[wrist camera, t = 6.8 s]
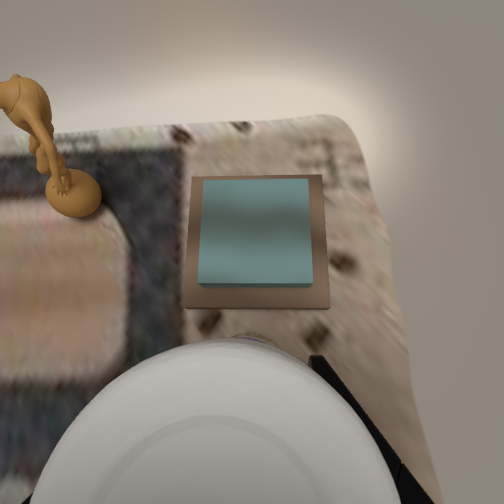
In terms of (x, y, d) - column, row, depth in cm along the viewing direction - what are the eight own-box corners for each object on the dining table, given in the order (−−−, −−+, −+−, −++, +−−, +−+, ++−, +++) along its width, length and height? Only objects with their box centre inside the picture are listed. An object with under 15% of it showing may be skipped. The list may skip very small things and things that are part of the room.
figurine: (52, 180, 27) (-110, 64, 15) (110, 149, 27) (-3, 16, 16) (86, 252, 25) (-73, 182, 13) (148, 217, 25) (48, 121, 14)
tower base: (326, 309, 22) (337, 305, 19) (187, 308, 23) (174, 304, 20) (318, 183, 25) (326, 160, 22) (196, 185, 26) (185, 163, 22)
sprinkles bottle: (281, 328, 17) (373, 318, 4) (294, 415, 15) (504, 872, 2) (203, 338, 16) (9, 367, 4) (209, 426, 15) (-50, 971, 2)
